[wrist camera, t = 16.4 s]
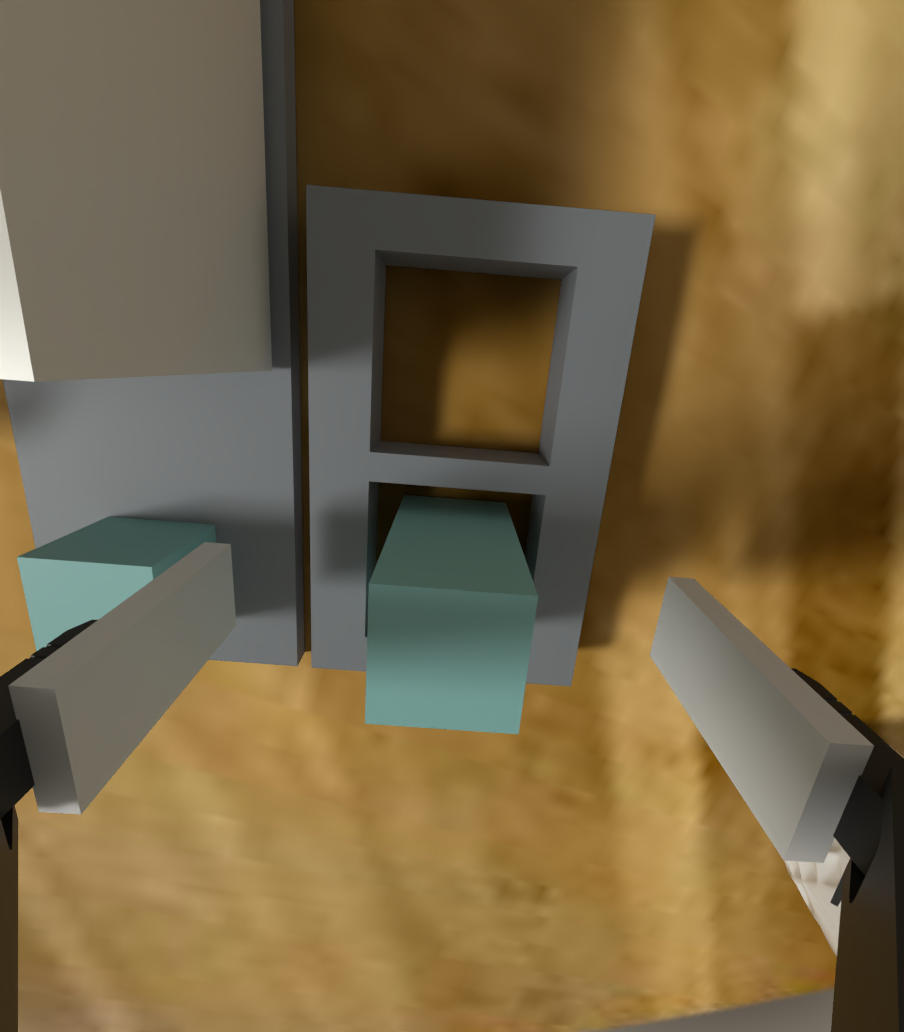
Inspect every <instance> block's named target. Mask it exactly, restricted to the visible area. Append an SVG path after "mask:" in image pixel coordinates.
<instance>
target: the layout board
mask: <svg viewBox="0 0 904 1032" xmlns="http://www.w3.org/2000/svg"><path fill="white" fill-rule="evenodd" d="M260 20H261V50H262V80H263V110H264V141H265V171H266V201H267V231H268V261H269V291H270V321H271V351H272V371H254V372H232V373H211V374H189V375H168V376H147V377H125V378H104V379H82V380H61V381H40V382H31V381H19V380H6V379H3V383H4V388H5V393H6V398H7V404H8V409H9V414H10V419H11V424H12V429H13V434H14V439H15V445H16V450H17V455H18V460H19V465H20V470H21V475H22V480H23V485H24V491H25V496H26V501H27V506H28V511H29V516H30V521H31V526H32V532H33V537H34V542H35V547H36V549H34V550H32V551H29V552H27V553H25V554H23V555H20V556H18V557H17V560H18V564H19V569H20V574H21V579H22V583H23V588H24V593H25V598H26V603H27V607H28V612H29V617H30V622H31V626H32V631H33V636H34V641H35V646H36V650H37V651H38V650H39V649H41V648H42V647H46V646H47V644H48V643H49V642H51V641H52V640H54V639H55V638H57V637H58V636H59V635H61V634H62V633H64V632H65V631H67V630H69V629H71V628H74V627H76V626H78V625H81V624H83V623H85V622H87V621H90V620H99V619H100V618H102V617H103V616H104V615H106V614H107V613H108V612H110V611H111V610H112V609H114V608H115V607H117V606H118V605H119V604H121V603H122V602H123V601H125V600H126V599H128V598H129V597H130V596H132V595H133V594H134V593H136V592H137V591H138V590H140V589H141V588H143V587H144V586H145V585H147V584H148V583H149V582H151V581H152V580H154V579H155V578H156V577H158V576H159V575H160V574H162V573H163V572H164V571H166V570H167V569H169V568H170V567H171V566H173V565H174V564H175V563H177V562H178V561H180V560H181V559H182V558H184V557H185V556H186V555H188V554H189V553H190V552H192V551H193V550H195V549H196V548H197V547H199V546H200V545H201V544H203V543H204V542H211V543H224V544H231V556H232V570H233V585H234V600H235V615H236V627H235V628H234V629H233V630H232V631H231V633H230V634H229V635H228V636H227V637H226V639H225V640H224V641H223V642H222V644H221V645H220V646H219V647H218V648H217V650H216V651H215V652H214V653H213V655H212V656H211V657H210V658H209V659H208V660H220V661H233V662H247V663H261V664H275V665H289V666H298V664H299V662H300V660H301V658H302V656H303V655H304V653H305V646H304V585H303V525H302V464H301V404H300V343H299V283H298V222H297V162H296V101H295V41H294V0H260Z"/></svg>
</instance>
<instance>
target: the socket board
mask: <svg viewBox="0 0 904 1032" xmlns="http://www.w3.org/2000/svg"><path fill="white" fill-rule="evenodd" d="M654 221H655V215H653V214H641V213H629V212H618V211H606V210H595V209H583V208H571V207H560V206H548V205H537V204H525V203H514V202H502V201H490V200H479V199H467V198H456V197H444V196H432V195H421V194H409V193H398V192H386V191H374V190H363V189H351V188H340V187H328V186H317V185H306V227H307V313H308V399H309V485H310V571H311V657H312V668H325V669H339V670H353V671H366V670H367V632H368V593H369V582H370V579H371V577H372V574H373V572H374V569H375V567H376V562H377V531H378V501H379V482H383V483H396V484H409V485H422V486H435V487H447V488H460V489H473V490H486V491H499V492H512V493H525V494H533V497H532V505H531V513H530V520H529V528H528V535H527V543H526V550H525V559H526V562H527V565H528V568H529V571H530V574H531V577H532V580H533V582H534V585H535V588H536V591H537V594H538V601H537V608H536V615H535V622H534V629H533V636H532V643H531V650H530V657H529V664H528V671H527V678H526V683H533V684H546V685H560V686H571V683H572V677H573V672H574V666H575V661H576V655H577V650H578V644H579V638H580V633H581V627H582V622H583V616H584V611H585V605H586V599H587V594H588V588H589V583H590V577H591V572H592V566H593V560H594V555H595V549H596V544H597V538H598V533H599V527H600V521H601V516H602V510H603V505H604V499H605V494H606V488H607V482H608V477H609V471H610V466H611V460H612V455H613V449H614V443H615V438H616V432H617V427H618V421H619V416H620V410H621V404H622V399H623V393H624V388H625V382H626V377H627V371H628V365H629V360H630V354H631V349H632V343H633V338H634V332H635V326H636V321H637V315H638V310H639V304H640V299H641V293H642V287H643V282H644V276H645V271H646V265H647V260H648V254H649V248H650V243H651V237H652V232H653V226H654ZM386 265H390V266H402V267H414V268H426V269H438V270H450V271H462V272H474V273H486V274H497V275H509V276H521V277H533V278H545V279H557V280H561V286H560V294H559V302H558V309H557V317H556V324H555V332H554V339H553V347H552V354H551V362H550V369H549V377H548V384H547V392H546V400H545V407H544V415H543V422H542V430H541V437H540V445H539V452H538V453H529V452H516V451H503V450H491V449H478V448H465V447H453V446H440V445H428V444H415V443H402V442H390V441H380V440H381V410H382V380H383V350H384V319H385V289H386Z"/></svg>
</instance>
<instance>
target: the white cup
mask: <svg viewBox="0 0 904 1032" xmlns="http://www.w3.org/2000/svg"><path fill="white" fill-rule="evenodd" d="M888 745H889V744H888ZM889 746H890V745H889ZM890 747H891V746H890ZM891 748H892V749H894V748H893V747H891ZM894 750H895V749H894ZM895 751H896V750H895ZM896 752H897V751H896ZM897 753H898V754H899V755H900V756H901V757H903V756H902V755H901V754H900V753H899V752H897ZM903 758H904V757H903ZM849 860H850V857H849V856H848V854H847V853H846V852H845V851H844V849H843V848H842V847H841V845H840V844H839V843H838V842H837V840H836V839H835V838H834V840H833V843H832V845H831V847H830V850H829V852H828V854H827V856H826V859H825V861H824V863H815V862H800V861H785V860H784V861H785V864H786V867H787V870H788V873H789V874H790V876H791V878H792V879H793V881H794V882H795V884H796V885H797V887H798V889H799V891H800V893H801V895H802V897H803V899H804V901H805V903H806V904H807V906H808V908H809V910H810V911H811V913H812V914H813V916H814V917H815V919H816V920H817V922H818V923H819V925H820V927H821V929H822V931H823V933H824V935H825V937H826V939H827V941H828V943H829V945H830V946H831V948H832V950H833V952H834V953H835V955H836V956H837V949H838V936H839V924H840V911H841V902H840V904H839V905H838V907H837V906H835V905H833V904H832V903H830V902H831V899H832V897H833V895H834V893H835V890H836V888H837V886H838V884H839V882H840V879H841V877H842V875H843V873H844V871H845V868H846V866H847V864H848V862H849Z"/></svg>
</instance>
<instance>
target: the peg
mask: <svg viewBox="0 0 904 1032" xmlns="http://www.w3.org/2000/svg"><path fill="white" fill-rule="evenodd" d="M537 601H538V594H537V591H536V588H535V585H534V582H533V580H532V577H531V574H530V571H529V568H528V565H527V562H526V559H525V557H524V554H523V551H522V548H521V545H520V542H519V539H518V536H517V533H516V531H515V528H514V525H513V522H512V519H511V516H510V513H509V510H508V508H507V505H506V503H505V502H492V501H479V500H466V499H452V498H439V497H426V496H413V495H404V497H403V499H402V502H401V504H400V507H399V509H398V512H397V514H396V517H395V519H394V522H393V524H392V527H391V529H390V532H389V534H388V537H387V539H386V542H385V544H384V547H383V549H382V552H381V554H380V557H379V559H378V562H377V564H376V567H375V569H374V572H373V574H372V577H371V579H370V582H369V593H368V632H367V670H366V709H365V724H379V725H393V726H408V727H422V728H437V729H451V730H465V731H480V732H494V733H509V734H519V727H520V720H521V713H522V706H523V699H524V692H525V685H526V678H527V671H528V664H529V657H530V650H531V643H532V636H533V629H534V622H535V615H536V608H537Z"/></svg>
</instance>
